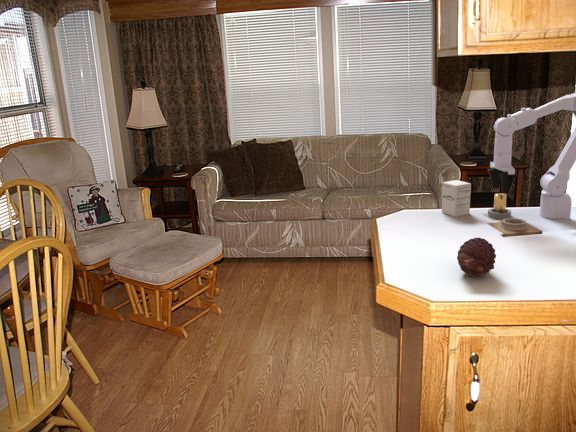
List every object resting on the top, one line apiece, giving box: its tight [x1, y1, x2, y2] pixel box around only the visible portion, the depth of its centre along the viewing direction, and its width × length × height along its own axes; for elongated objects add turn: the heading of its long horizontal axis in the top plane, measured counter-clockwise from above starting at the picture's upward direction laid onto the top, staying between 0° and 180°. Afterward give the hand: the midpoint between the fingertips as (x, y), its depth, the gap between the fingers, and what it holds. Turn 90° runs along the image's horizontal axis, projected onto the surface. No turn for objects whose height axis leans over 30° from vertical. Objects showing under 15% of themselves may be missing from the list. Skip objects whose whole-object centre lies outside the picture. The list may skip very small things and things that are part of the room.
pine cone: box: [456, 237, 497, 278], centre depth 149 cm, size 18×10×10 cm, turn 160°
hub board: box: [486, 217, 543, 238], centre depth 185 cm, size 13×13×3 cm
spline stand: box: [482, 207, 516, 222], centre depth 198 cm, size 9×9×3 cm
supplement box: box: [441, 179, 472, 217], centre depth 203 cm, size 7×7×13 cm
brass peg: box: [493, 192, 507, 213], centre depth 197 cm, size 4×4×8 cm
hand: (500, 190), depth 196 cm, fingers open, 7 cm apart
